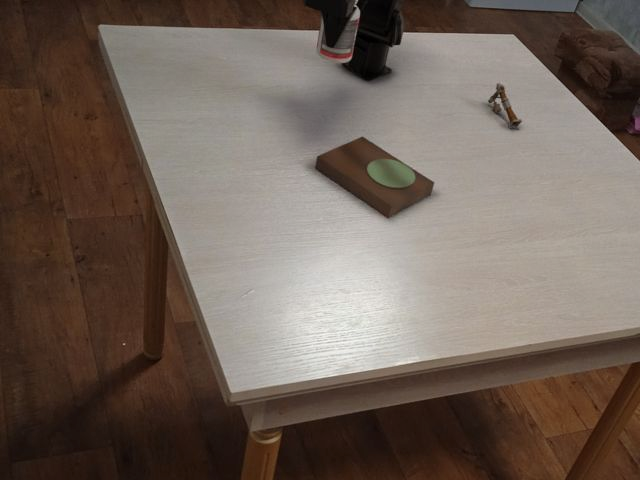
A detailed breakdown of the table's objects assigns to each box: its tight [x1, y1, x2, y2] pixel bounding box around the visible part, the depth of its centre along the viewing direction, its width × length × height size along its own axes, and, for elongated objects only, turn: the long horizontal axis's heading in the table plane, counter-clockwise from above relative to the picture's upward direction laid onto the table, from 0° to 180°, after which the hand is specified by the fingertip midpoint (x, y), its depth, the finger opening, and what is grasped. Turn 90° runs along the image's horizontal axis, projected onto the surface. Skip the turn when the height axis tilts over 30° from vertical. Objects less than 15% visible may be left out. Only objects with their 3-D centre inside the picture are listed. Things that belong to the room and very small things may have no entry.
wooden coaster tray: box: [314, 136, 435, 218], centre depth 118 cm, size 10×14×2 cm
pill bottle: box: [316, 0, 360, 64], centre depth 119 cm, size 5×5×10 cm
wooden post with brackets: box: [487, 82, 523, 129], centre depth 140 cm, size 2×8×4 cm, turn 30°
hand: (336, 40), depth 121 cm, fingers closed on pill bottle, 5 cm apart
